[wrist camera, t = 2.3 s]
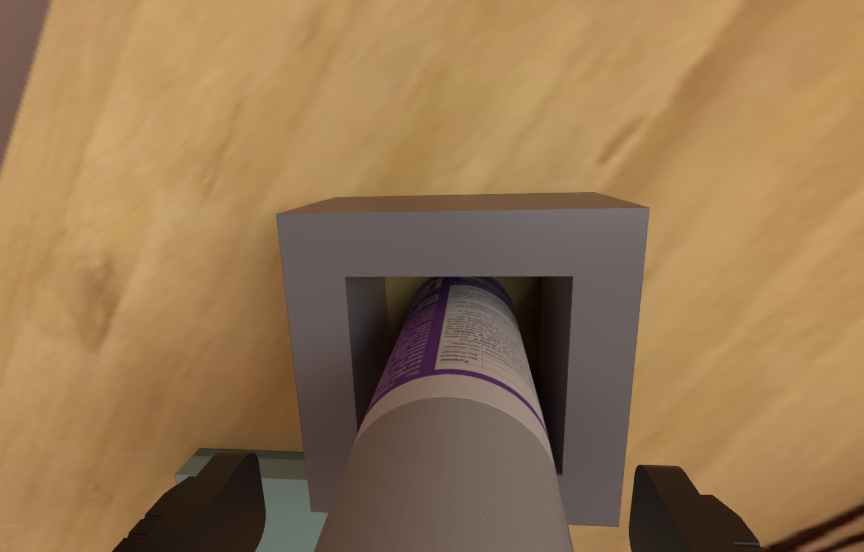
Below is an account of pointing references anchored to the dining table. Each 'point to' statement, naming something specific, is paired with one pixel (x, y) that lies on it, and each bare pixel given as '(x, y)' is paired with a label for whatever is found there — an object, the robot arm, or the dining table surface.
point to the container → (452, 438)
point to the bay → (464, 257)
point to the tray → (276, 499)
